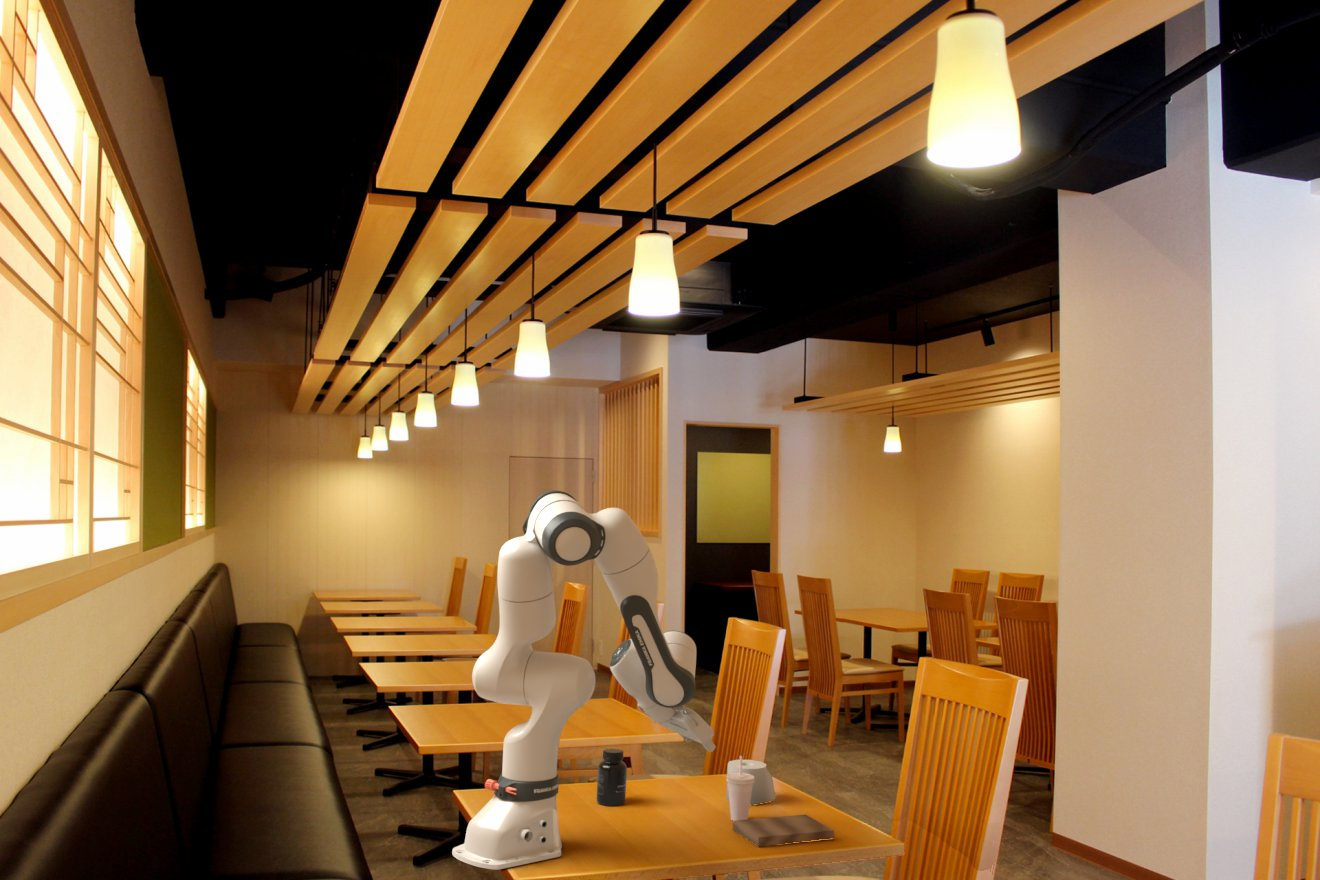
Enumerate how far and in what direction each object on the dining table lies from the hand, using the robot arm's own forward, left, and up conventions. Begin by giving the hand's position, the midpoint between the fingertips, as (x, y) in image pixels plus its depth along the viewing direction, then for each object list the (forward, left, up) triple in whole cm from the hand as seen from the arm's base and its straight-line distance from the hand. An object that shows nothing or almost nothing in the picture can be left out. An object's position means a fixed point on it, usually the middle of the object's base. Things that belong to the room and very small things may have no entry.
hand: (701, 744), depth 232 cm
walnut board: (+8, -17, -17) cm, 25 cm away
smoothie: (+10, -4, -18) cm, 21 cm away
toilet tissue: (+26, +4, -18) cm, 31 cm away
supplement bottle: (-1, +25, -18) cm, 31 cm away
